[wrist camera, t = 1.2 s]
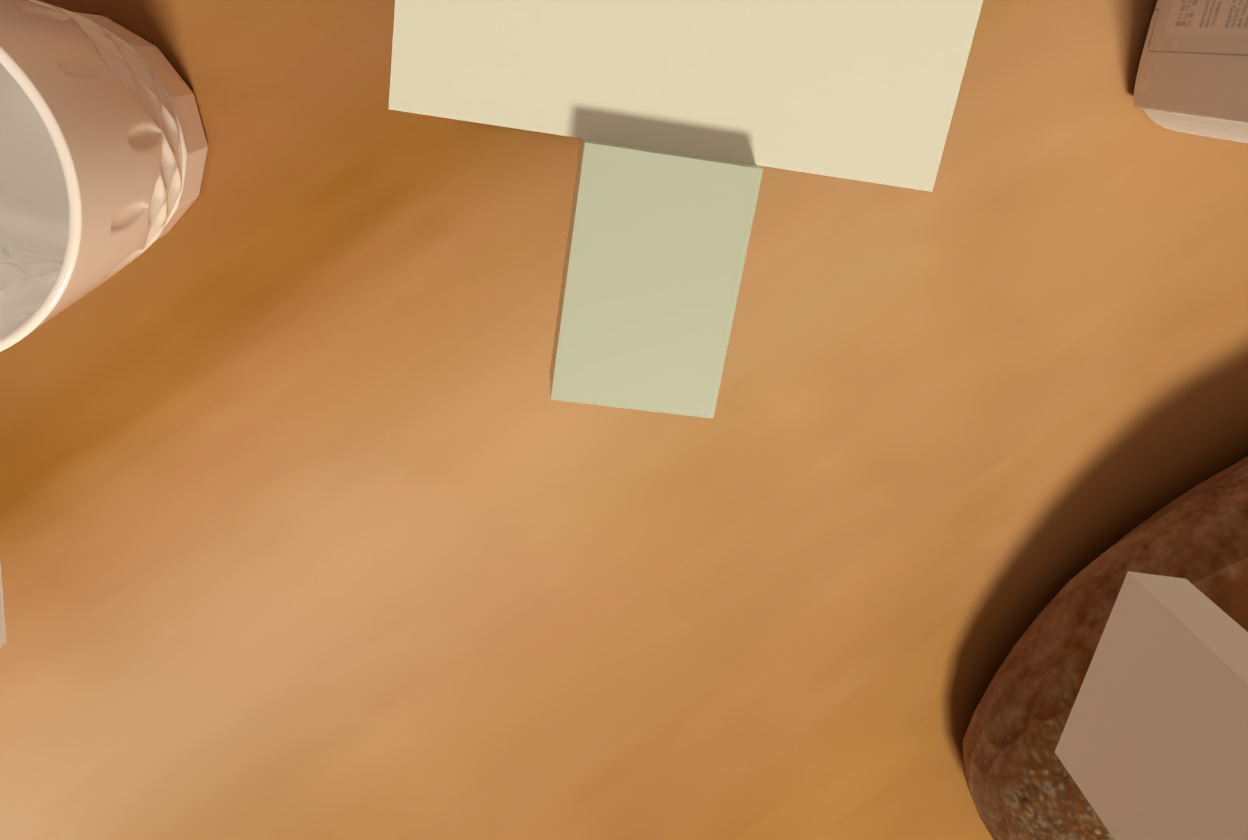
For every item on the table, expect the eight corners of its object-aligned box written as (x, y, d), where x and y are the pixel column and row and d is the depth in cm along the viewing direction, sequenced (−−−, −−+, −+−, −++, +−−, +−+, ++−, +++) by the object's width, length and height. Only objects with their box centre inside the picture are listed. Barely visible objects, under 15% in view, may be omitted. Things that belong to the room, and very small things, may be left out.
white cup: (47, -78, 26) (-226, -141, 17) (284, 132, 28) (159, 177, 19) (-107, 136, 28) (-433, 185, 18) (128, 316, 30) (-55, 439, 21)
